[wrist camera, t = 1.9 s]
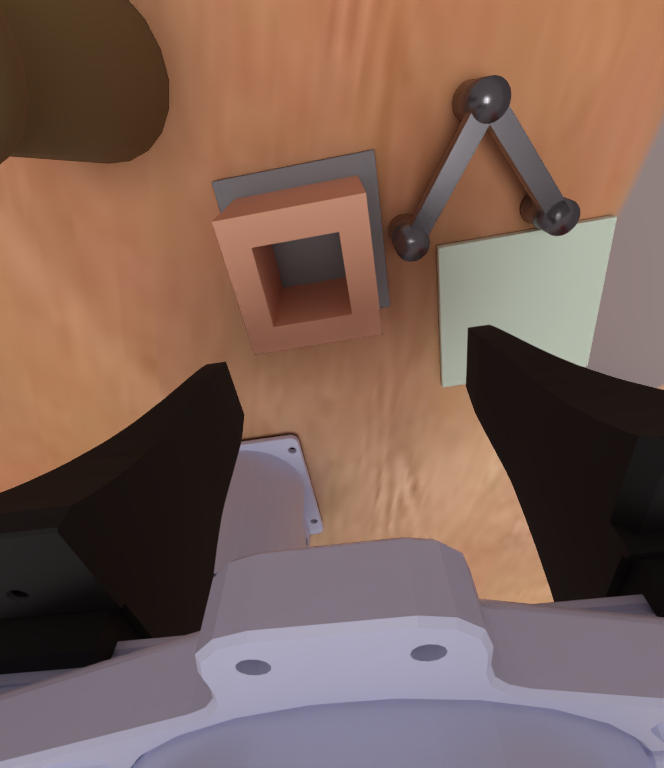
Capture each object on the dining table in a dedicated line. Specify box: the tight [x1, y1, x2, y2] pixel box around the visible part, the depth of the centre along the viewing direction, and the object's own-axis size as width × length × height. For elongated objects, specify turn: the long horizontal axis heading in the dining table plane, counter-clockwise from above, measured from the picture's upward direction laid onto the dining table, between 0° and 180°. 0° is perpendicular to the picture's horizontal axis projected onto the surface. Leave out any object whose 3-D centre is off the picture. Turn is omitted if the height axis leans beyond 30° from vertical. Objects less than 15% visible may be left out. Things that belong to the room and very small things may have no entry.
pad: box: [437, 215, 617, 387], centre depth 21 cm, size 8×8×1 cm
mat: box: [211, 149, 390, 308], centre depth 19 cm, size 7×7×1 cm
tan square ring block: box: [212, 175, 383, 355], centre depth 17 cm, size 5×5×4 cm
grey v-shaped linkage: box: [388, 75, 580, 262], centre depth 17 cm, size 6×7×2 cm
